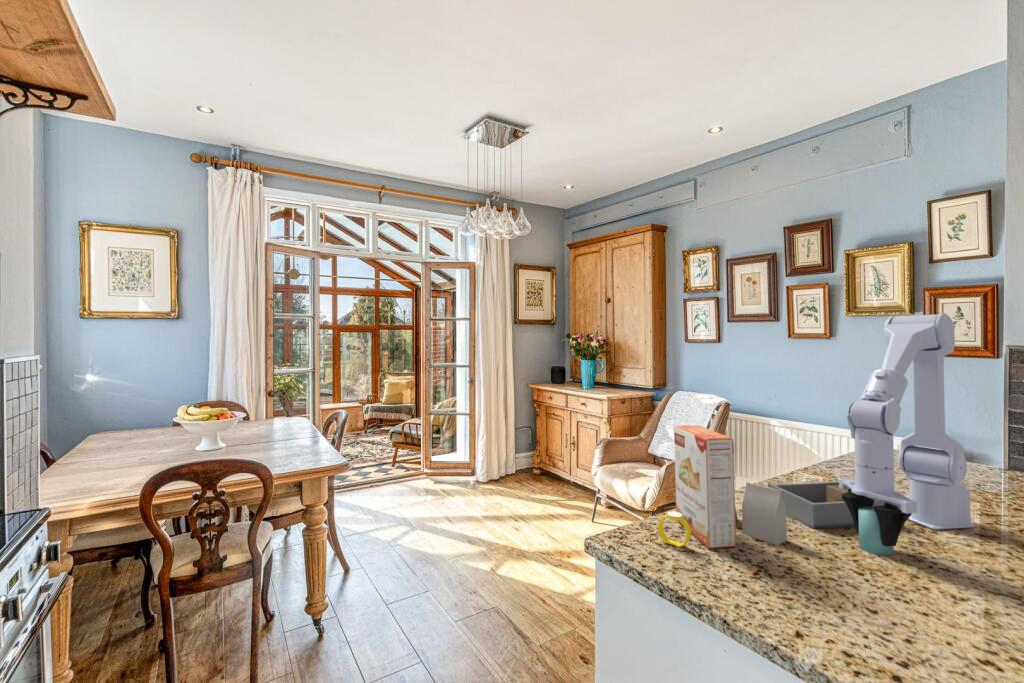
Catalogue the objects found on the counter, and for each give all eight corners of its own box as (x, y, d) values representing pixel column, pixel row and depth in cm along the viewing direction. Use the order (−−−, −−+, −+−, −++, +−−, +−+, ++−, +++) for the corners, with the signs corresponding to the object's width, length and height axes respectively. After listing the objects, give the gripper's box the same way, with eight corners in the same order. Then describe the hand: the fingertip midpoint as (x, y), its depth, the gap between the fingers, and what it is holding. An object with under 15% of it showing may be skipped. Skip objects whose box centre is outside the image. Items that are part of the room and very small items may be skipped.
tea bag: (776, 545, 89) (775, 492, 89) (742, 533, 95) (741, 484, 95) (786, 540, 91) (785, 489, 91) (752, 529, 97) (751, 480, 97)
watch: (656, 542, 91) (655, 511, 91) (662, 538, 93) (662, 508, 93) (686, 551, 87) (686, 519, 87) (692, 546, 89) (692, 515, 89)
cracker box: (674, 521, 101) (672, 425, 102) (701, 520, 102) (699, 424, 102) (706, 549, 88) (704, 438, 88) (737, 548, 88) (735, 436, 88)
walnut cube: (847, 506, 107) (846, 484, 107) (865, 514, 102) (865, 491, 102) (826, 507, 107) (826, 485, 107) (844, 515, 102) (843, 492, 102)
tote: (840, 502, 111) (839, 481, 111) (891, 524, 98) (891, 500, 98) (770, 506, 110) (770, 484, 110) (813, 528, 96) (812, 504, 96)
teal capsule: (876, 543, 89) (875, 506, 89) (900, 554, 84) (899, 515, 84) (852, 544, 89) (851, 507, 89) (875, 556, 84) (874, 517, 84)
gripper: (824, 456, 93) (825, 525, 93) (889, 477, 79) (891, 558, 79) (856, 455, 94) (858, 523, 94) (927, 475, 80) (929, 555, 80)
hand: (875, 538), depth 86 cm, fingers closed on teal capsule, 5 cm apart
